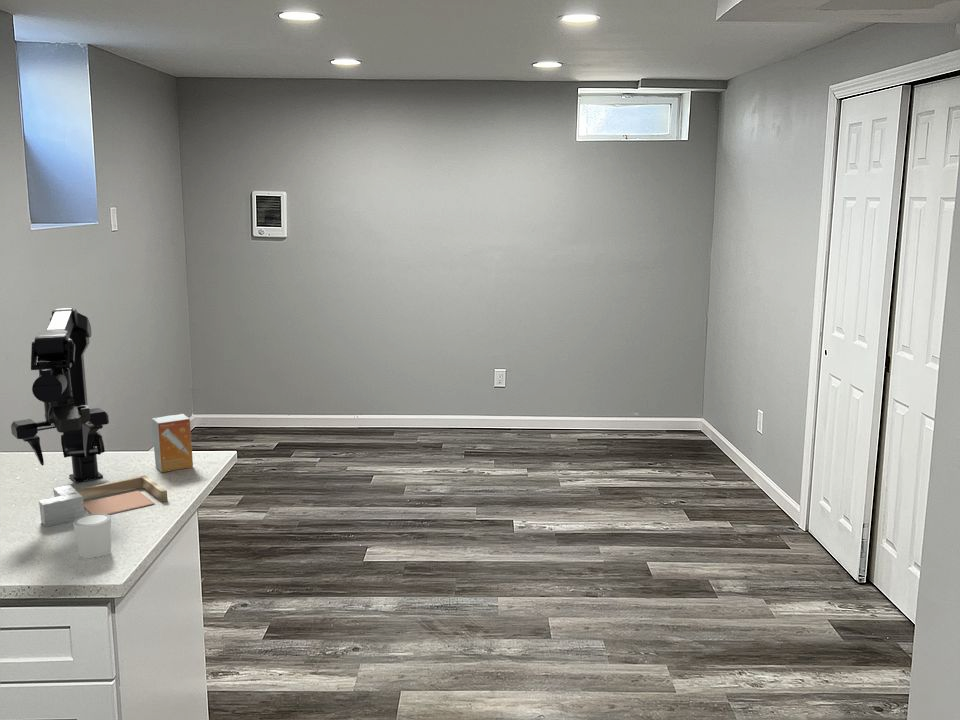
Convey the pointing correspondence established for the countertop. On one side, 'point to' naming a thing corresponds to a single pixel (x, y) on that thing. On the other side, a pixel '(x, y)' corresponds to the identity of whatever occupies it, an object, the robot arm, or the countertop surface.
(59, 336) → the robot arm
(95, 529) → the shot glass
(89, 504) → the pad
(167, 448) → the small box
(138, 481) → the tan corner rail
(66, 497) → the bracket
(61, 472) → the countertop surface
